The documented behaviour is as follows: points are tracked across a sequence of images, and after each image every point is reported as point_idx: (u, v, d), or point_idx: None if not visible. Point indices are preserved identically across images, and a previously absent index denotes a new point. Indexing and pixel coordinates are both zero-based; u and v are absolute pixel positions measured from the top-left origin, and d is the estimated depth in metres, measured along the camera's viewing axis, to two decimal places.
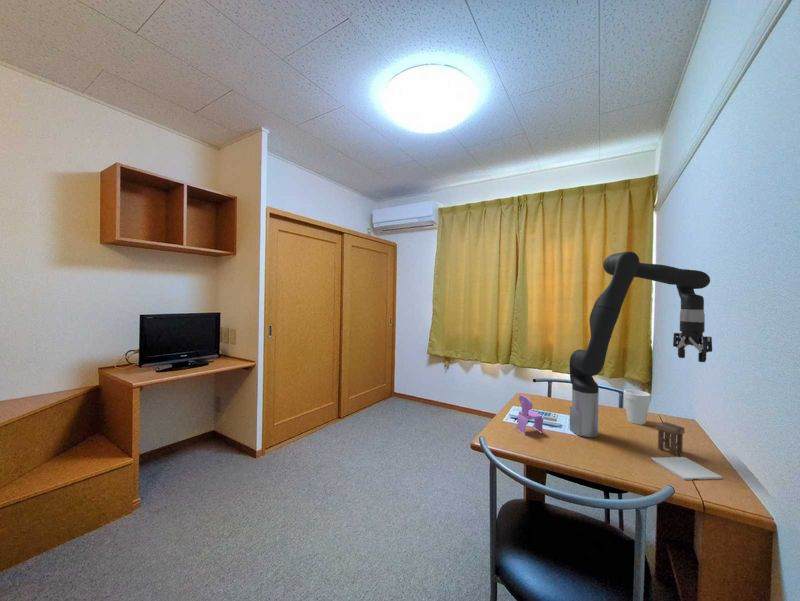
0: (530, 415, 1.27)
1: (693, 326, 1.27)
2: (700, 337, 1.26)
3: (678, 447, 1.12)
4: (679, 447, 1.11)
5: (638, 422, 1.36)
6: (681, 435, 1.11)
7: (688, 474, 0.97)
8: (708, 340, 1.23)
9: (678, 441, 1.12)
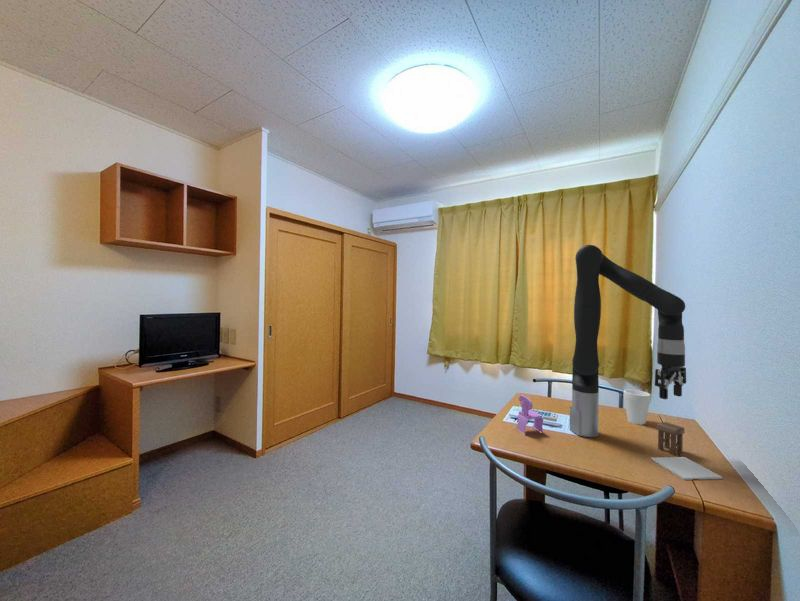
0: (530, 415, 1.27)
1: None
2: None
3: (678, 447, 1.12)
4: (679, 447, 1.11)
5: (638, 422, 1.36)
6: (681, 435, 1.11)
7: (688, 474, 0.97)
8: None
9: (678, 441, 1.12)
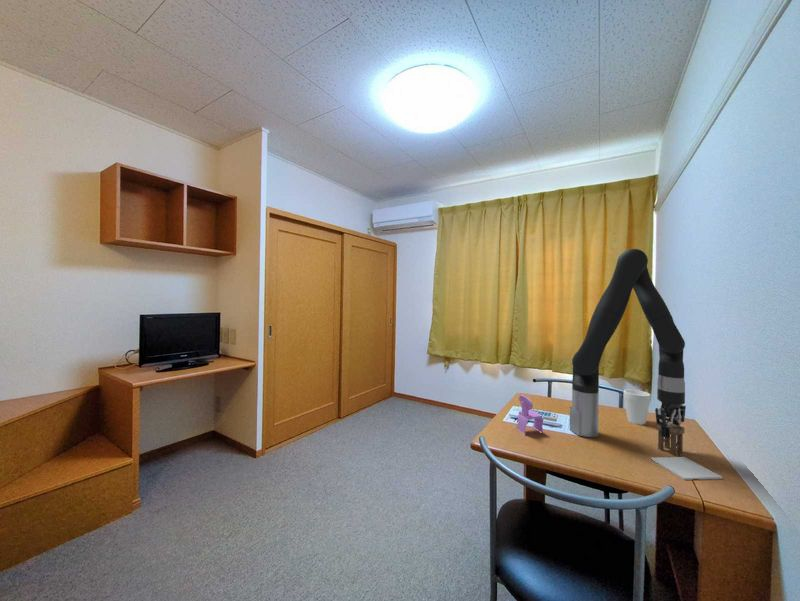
0: (530, 415, 1.27)
1: None
2: None
3: (678, 447, 1.12)
4: (679, 447, 1.11)
5: (638, 422, 1.36)
6: (681, 435, 1.11)
7: (688, 474, 0.97)
8: None
9: (678, 441, 1.12)
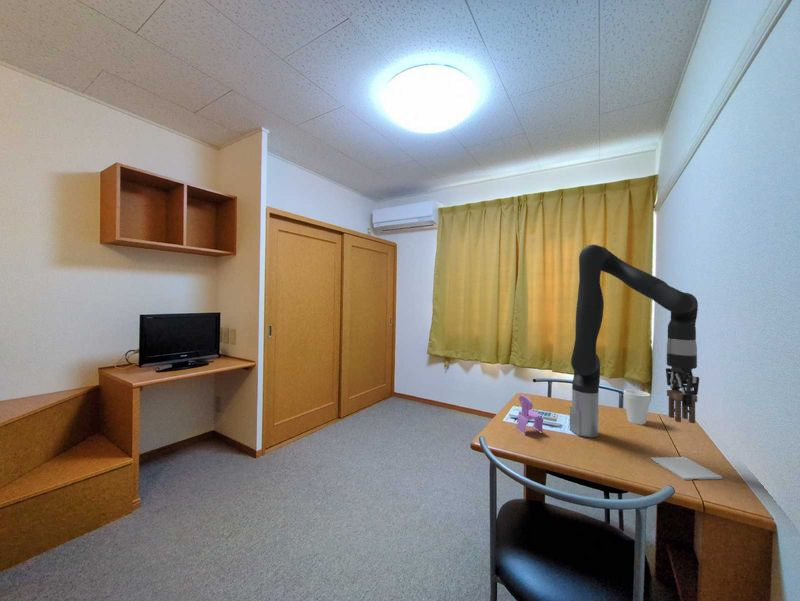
0: (530, 415, 1.27)
1: None
2: None
3: (685, 413, 1.06)
4: (686, 413, 1.06)
5: (638, 422, 1.36)
6: None
7: (688, 474, 0.97)
8: None
9: (685, 407, 1.06)
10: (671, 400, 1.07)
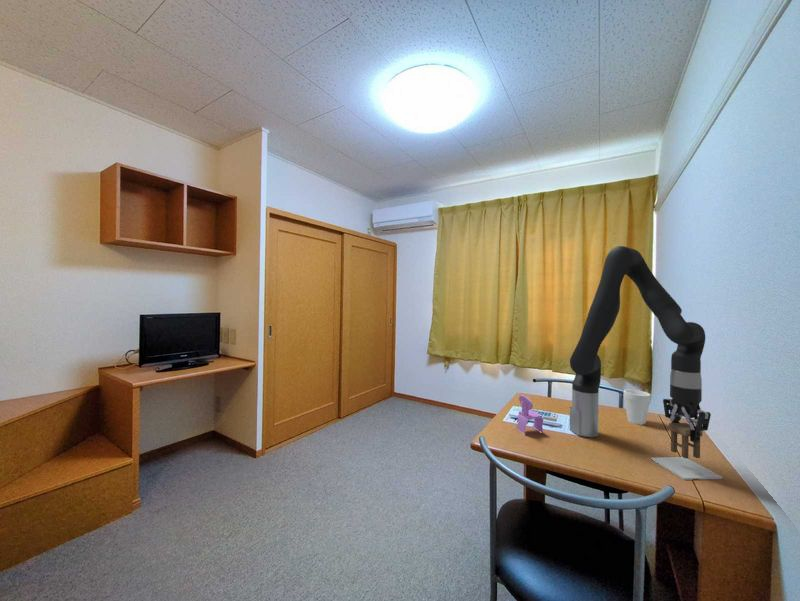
0: (530, 415, 1.27)
1: None
2: None
3: None
4: None
5: (638, 422, 1.36)
6: None
7: (688, 474, 0.97)
8: None
9: None
10: (674, 434, 1.02)
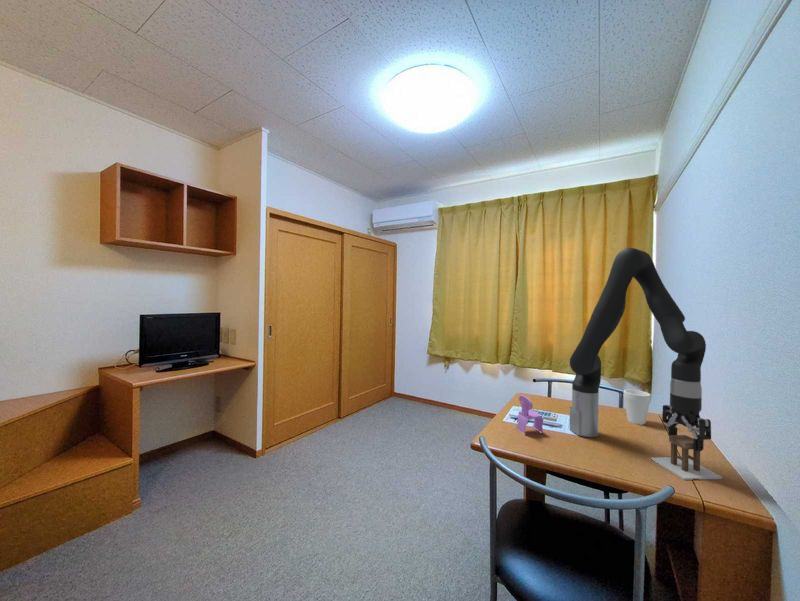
0: (530, 415, 1.27)
1: None
2: None
3: None
4: None
5: (638, 422, 1.36)
6: None
7: (688, 474, 0.97)
8: None
9: None
10: (674, 446, 1.02)
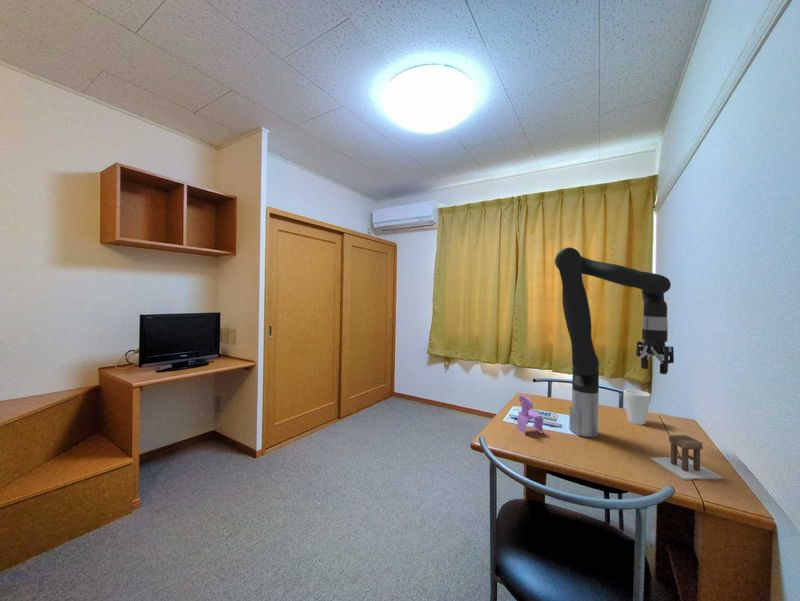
0: (530, 415, 1.27)
1: None
2: None
3: None
4: None
5: (638, 422, 1.36)
6: None
7: (688, 474, 0.97)
8: None
9: None
10: (674, 446, 1.02)
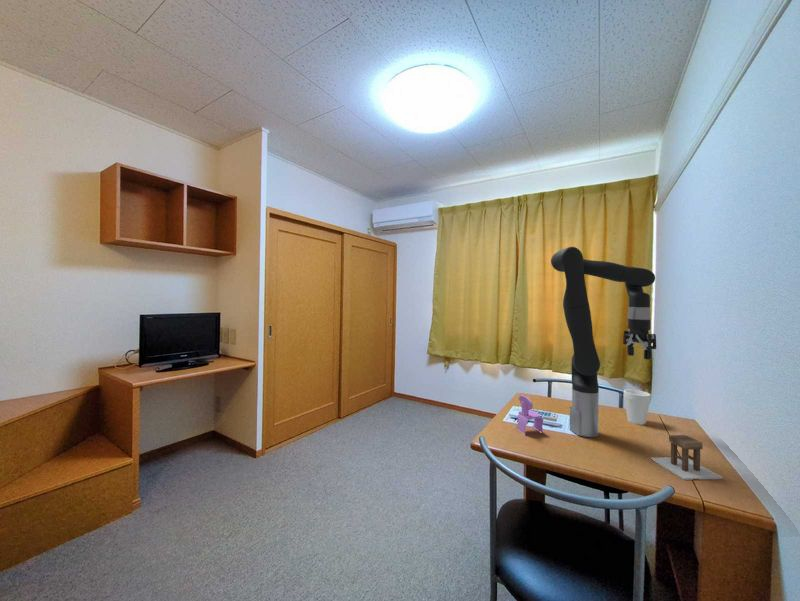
0: (530, 415, 1.27)
1: None
2: None
3: None
4: None
5: (638, 422, 1.36)
6: None
7: (688, 474, 0.97)
8: None
9: None
10: (674, 446, 1.02)
